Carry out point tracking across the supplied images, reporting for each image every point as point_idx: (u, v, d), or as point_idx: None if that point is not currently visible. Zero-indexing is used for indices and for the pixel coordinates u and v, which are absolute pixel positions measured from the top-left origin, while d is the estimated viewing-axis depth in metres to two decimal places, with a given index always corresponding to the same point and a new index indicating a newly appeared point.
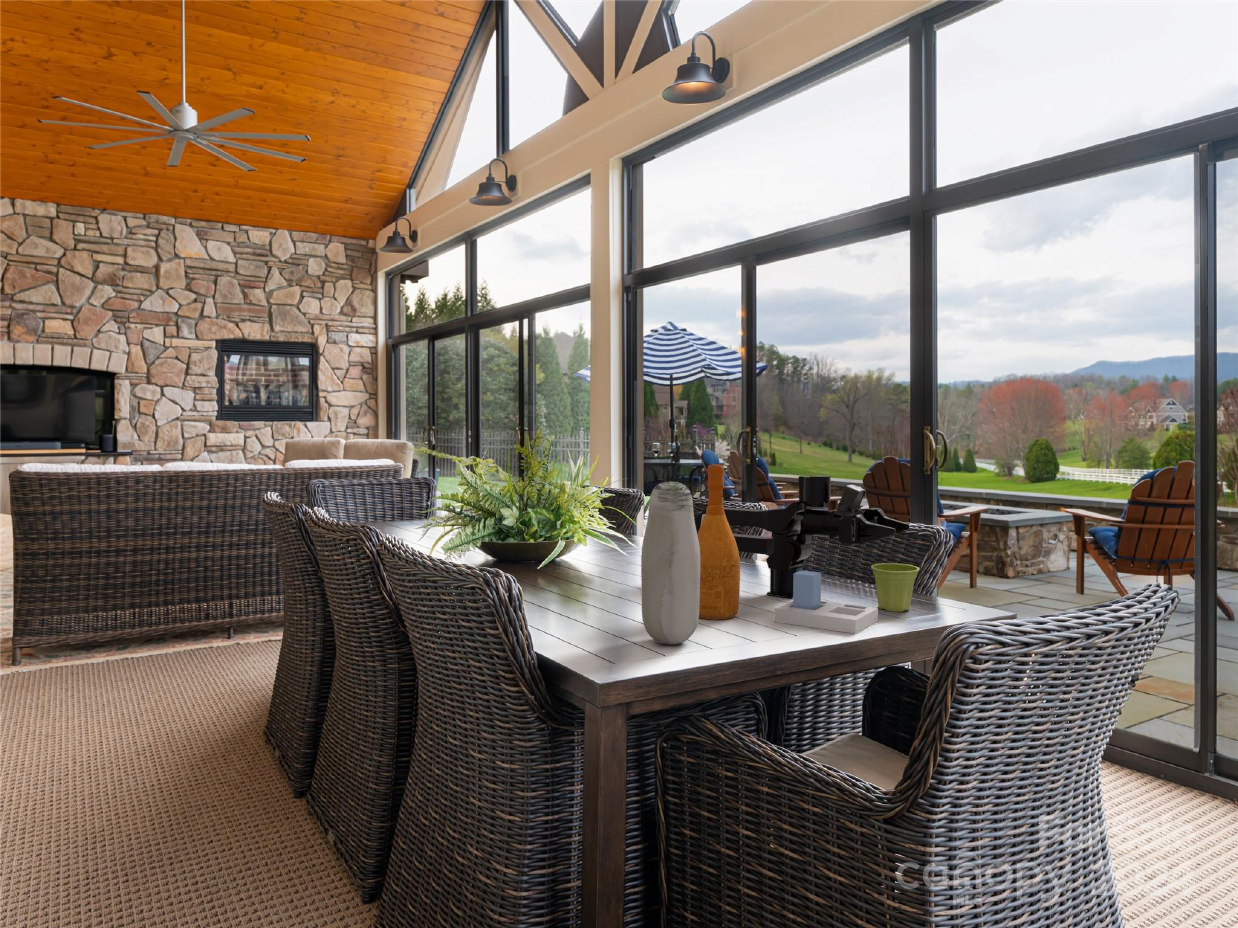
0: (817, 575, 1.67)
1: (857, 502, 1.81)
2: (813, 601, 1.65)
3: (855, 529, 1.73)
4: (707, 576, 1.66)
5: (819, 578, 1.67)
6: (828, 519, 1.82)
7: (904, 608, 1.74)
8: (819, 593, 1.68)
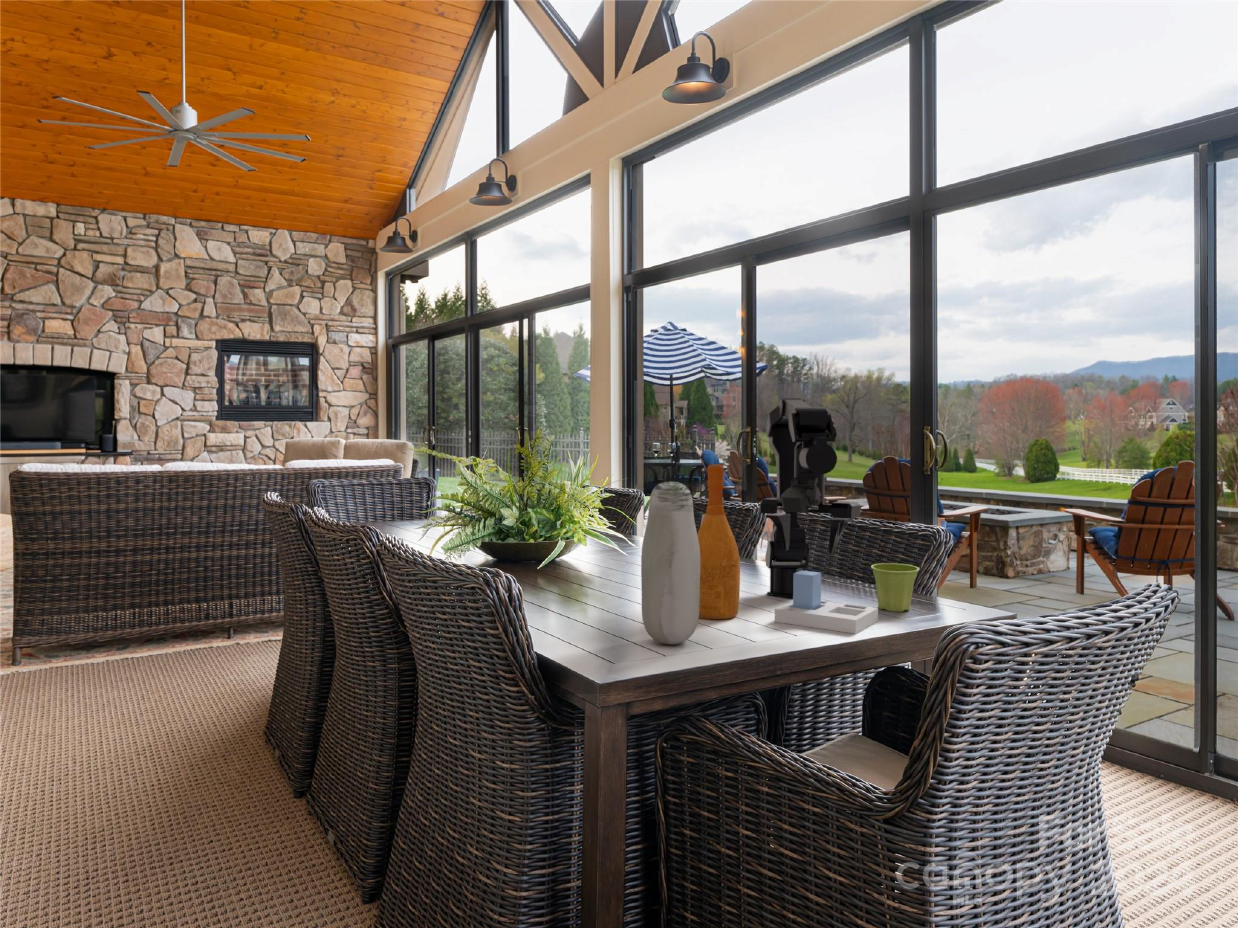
0: (817, 575, 1.67)
1: None
2: (813, 601, 1.65)
3: None
4: (707, 576, 1.66)
5: (819, 578, 1.67)
6: (794, 476, 1.67)
7: (904, 608, 1.74)
8: (819, 593, 1.68)
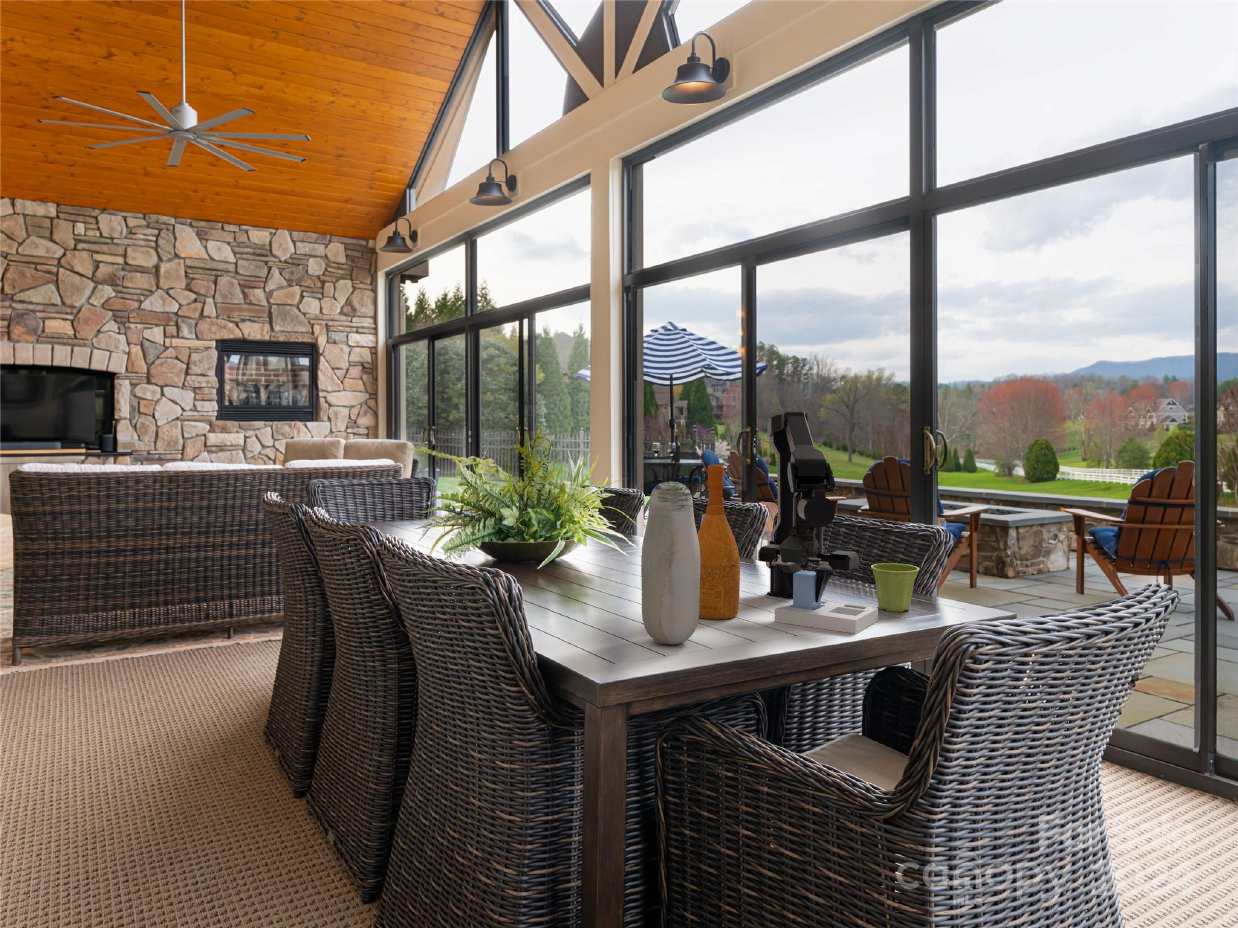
0: None
1: None
2: (813, 601, 1.65)
3: None
4: (707, 576, 1.66)
5: None
6: (793, 525, 1.68)
7: (904, 608, 1.74)
8: None
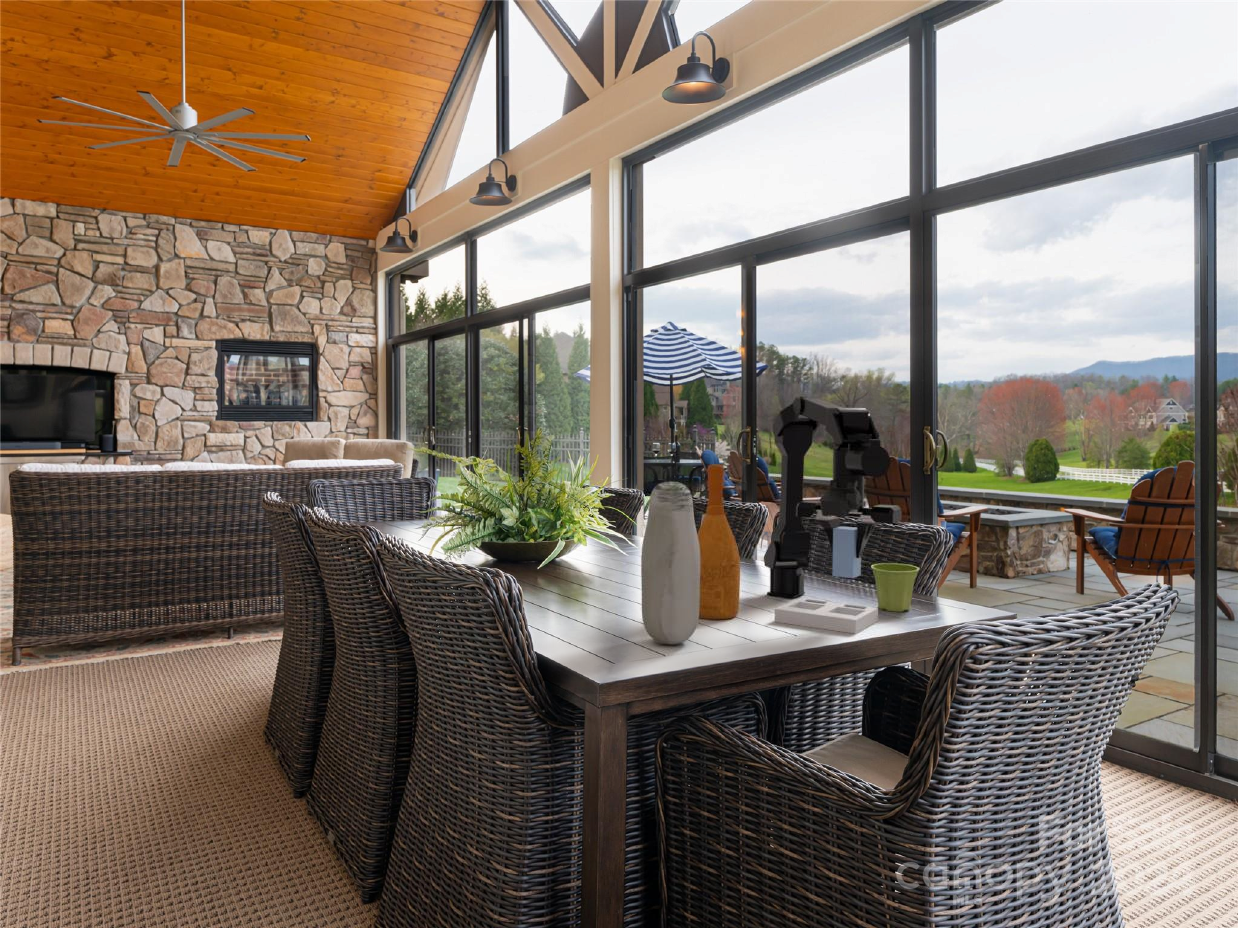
0: None
1: None
2: (854, 556, 1.60)
3: None
4: (707, 576, 1.66)
5: None
6: None
7: (904, 608, 1.74)
8: None
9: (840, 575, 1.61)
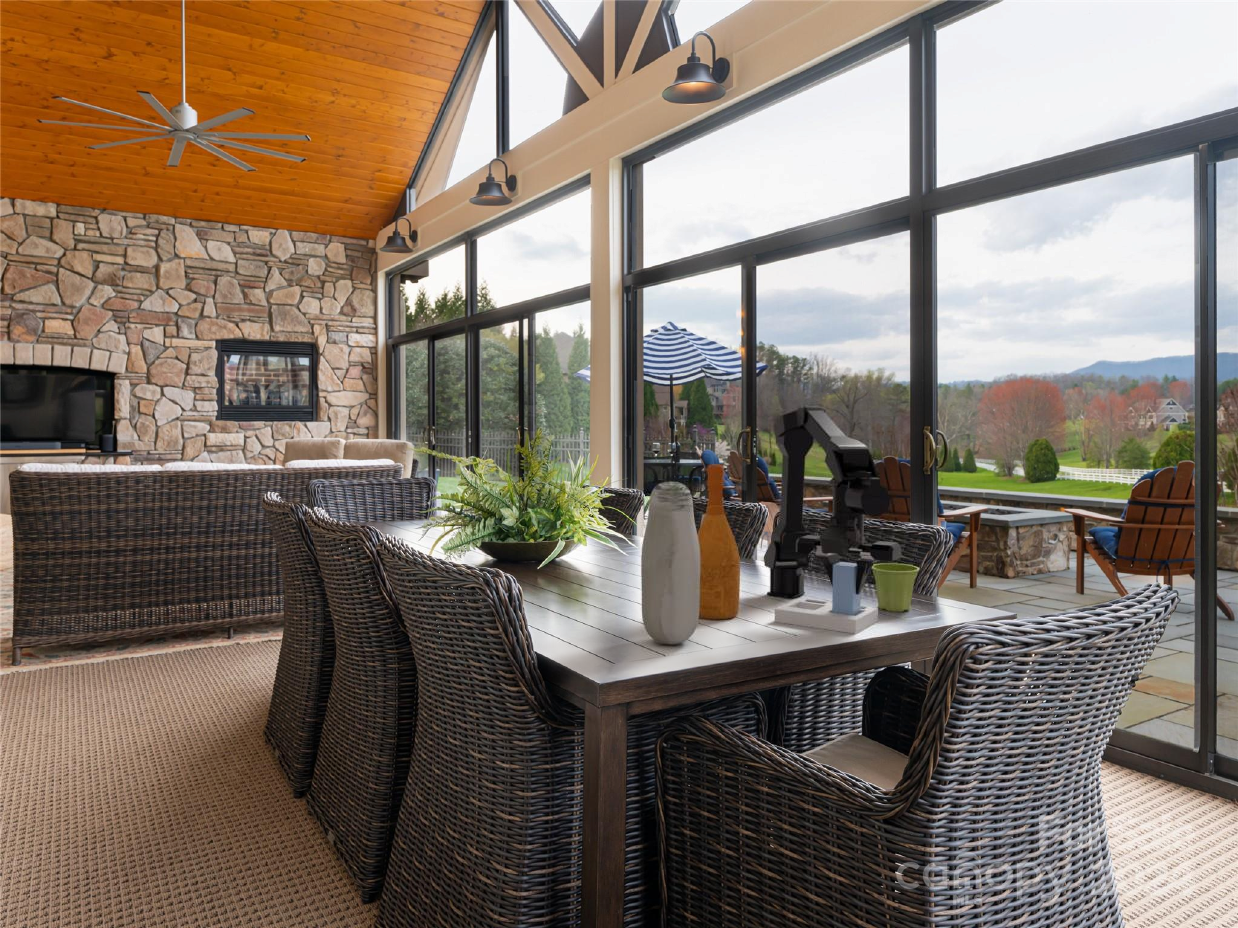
0: None
1: None
2: (854, 593, 1.61)
3: None
4: (707, 576, 1.66)
5: None
6: (832, 515, 1.63)
7: (904, 608, 1.74)
8: None
9: (840, 611, 1.62)
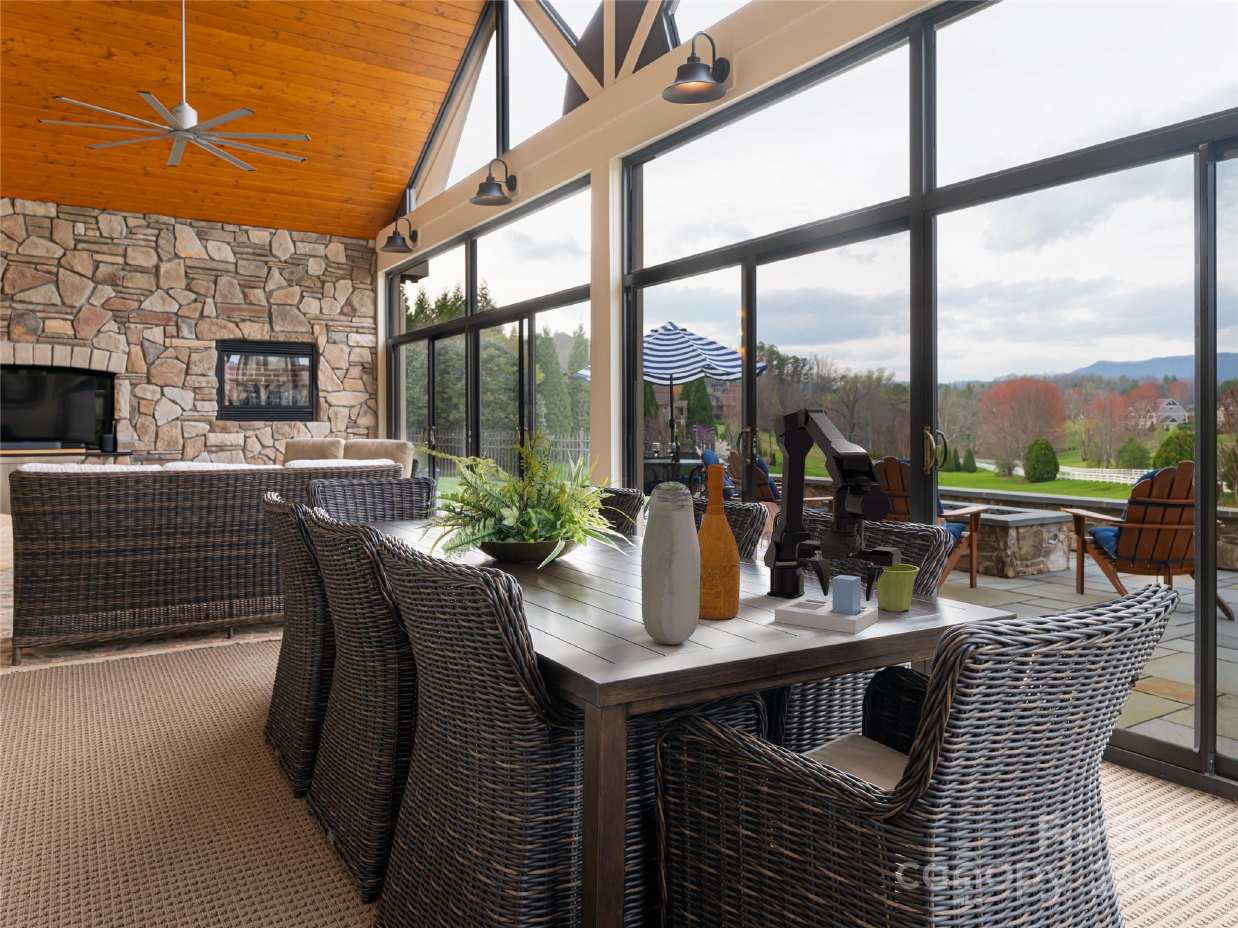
0: (857, 579, 1.62)
1: None
2: (854, 606, 1.61)
3: None
4: (707, 576, 1.66)
5: (859, 583, 1.63)
6: (832, 520, 1.63)
7: (904, 608, 1.74)
8: (859, 598, 1.63)
9: None
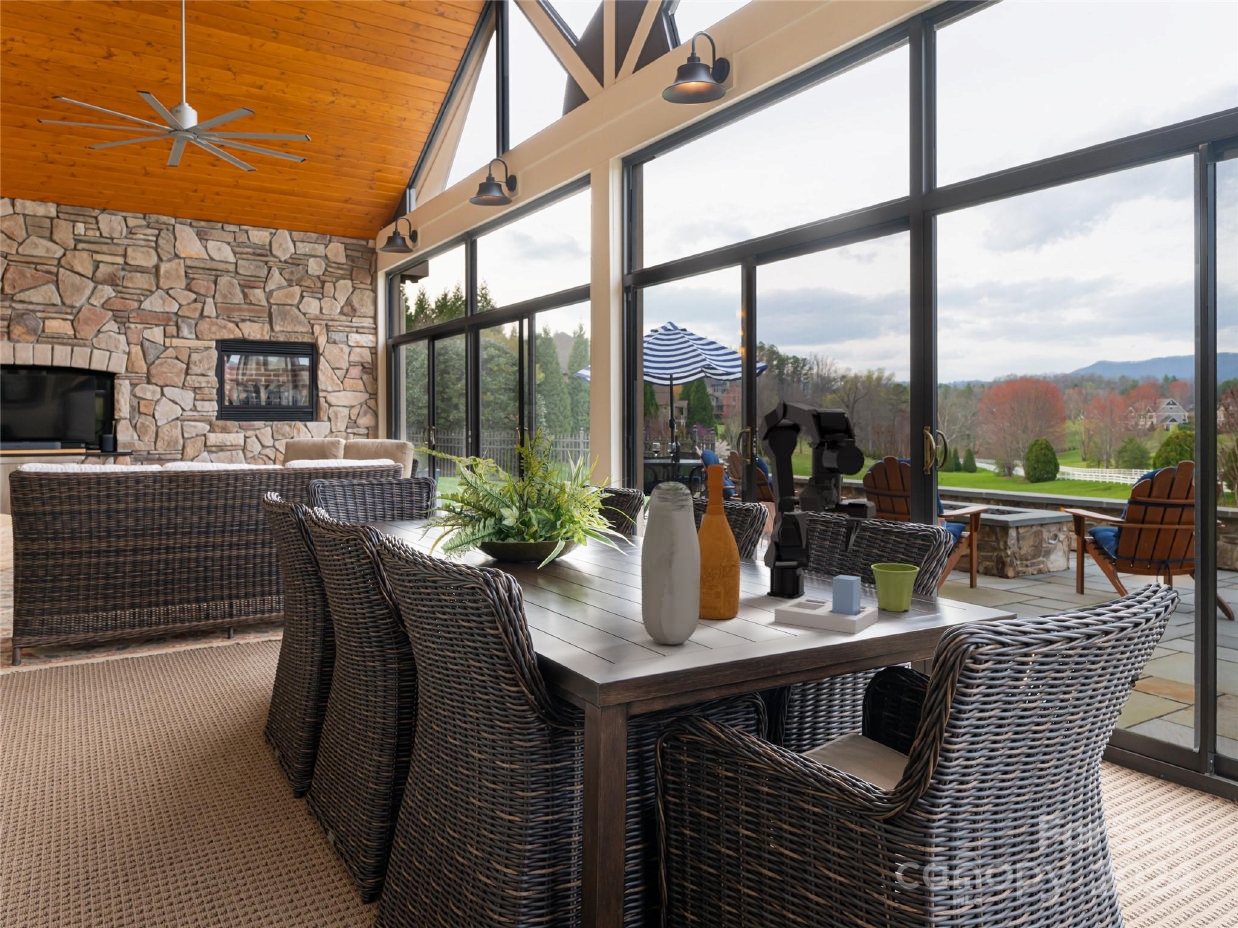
0: (857, 580, 1.62)
1: None
2: (853, 606, 1.61)
3: None
4: (707, 576, 1.66)
5: (859, 583, 1.63)
6: (811, 476, 1.71)
7: (904, 608, 1.74)
8: (859, 598, 1.63)
9: None
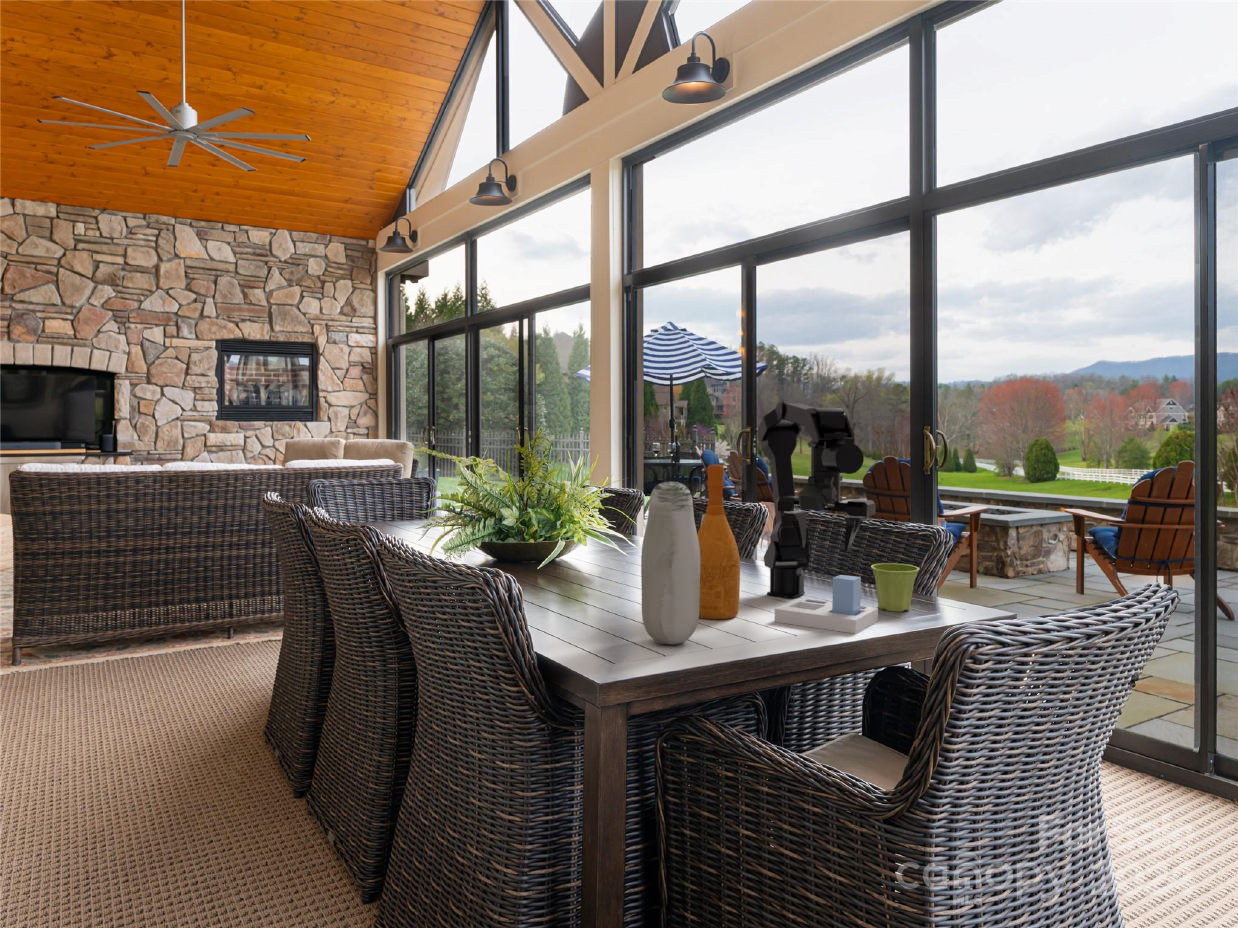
0: (857, 580, 1.62)
1: None
2: (853, 606, 1.61)
3: None
4: (707, 576, 1.66)
5: (859, 583, 1.63)
6: (811, 475, 1.71)
7: (904, 608, 1.74)
8: (859, 598, 1.63)
9: None
